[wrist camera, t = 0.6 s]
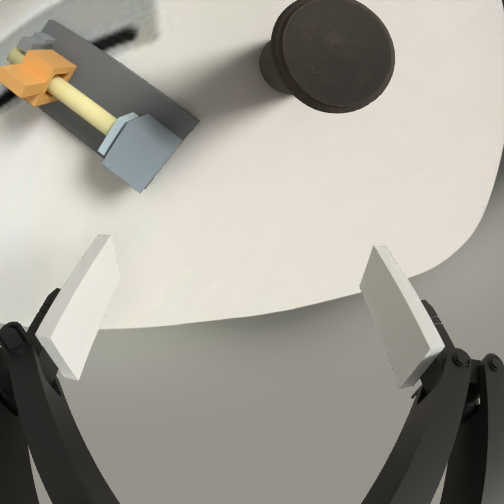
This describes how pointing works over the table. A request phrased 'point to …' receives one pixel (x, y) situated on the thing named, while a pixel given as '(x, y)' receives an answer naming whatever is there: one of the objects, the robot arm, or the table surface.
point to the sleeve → (36, 75)
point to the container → (329, 55)
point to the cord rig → (110, 107)
